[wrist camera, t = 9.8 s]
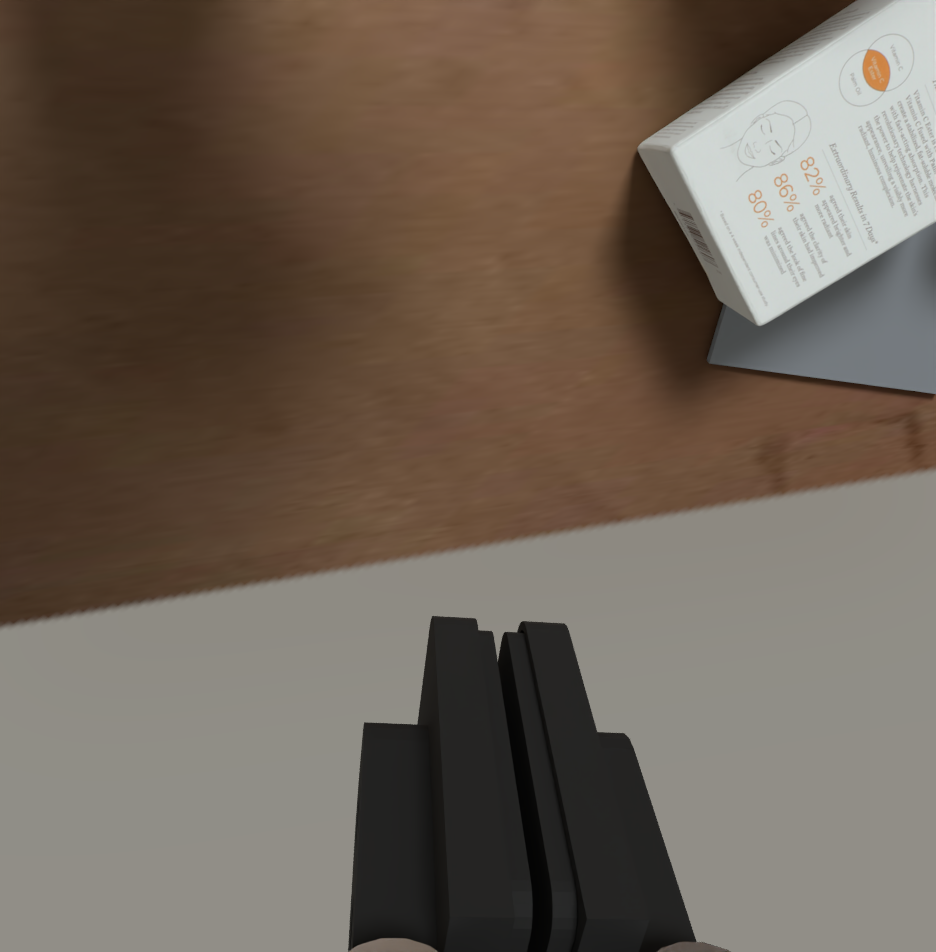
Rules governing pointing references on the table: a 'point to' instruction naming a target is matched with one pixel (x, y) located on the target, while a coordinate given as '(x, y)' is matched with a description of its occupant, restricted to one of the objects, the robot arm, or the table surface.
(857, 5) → the small box
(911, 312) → the felt mat
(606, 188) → the table surface
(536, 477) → the table surface
